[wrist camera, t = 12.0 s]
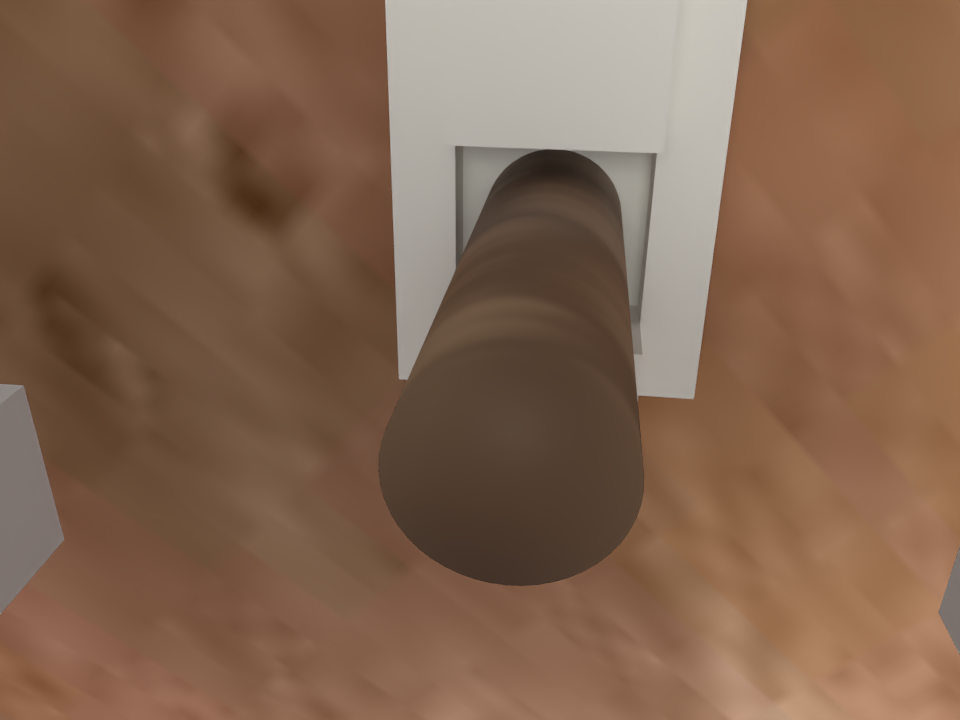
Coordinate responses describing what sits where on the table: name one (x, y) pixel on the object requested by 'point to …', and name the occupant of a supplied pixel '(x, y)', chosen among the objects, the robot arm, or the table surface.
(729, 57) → the socket block
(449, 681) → the table surface
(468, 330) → the dowel
